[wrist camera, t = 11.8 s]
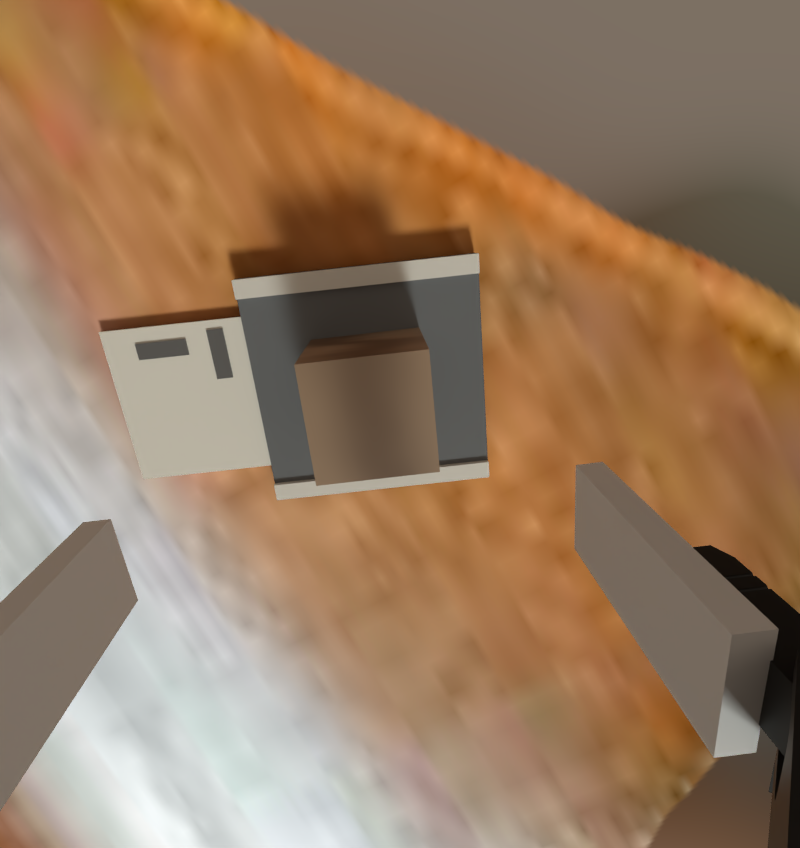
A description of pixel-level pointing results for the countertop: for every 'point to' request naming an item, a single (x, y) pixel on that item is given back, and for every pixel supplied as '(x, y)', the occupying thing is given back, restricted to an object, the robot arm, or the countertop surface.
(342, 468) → the walnut block
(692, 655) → the robot arm
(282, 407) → the tray
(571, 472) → the countertop surface
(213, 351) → the beige flat square panel
